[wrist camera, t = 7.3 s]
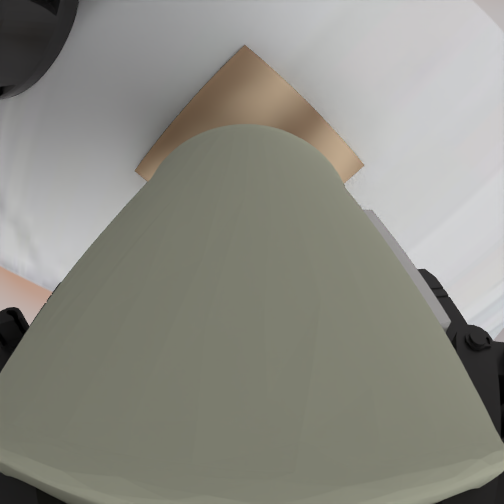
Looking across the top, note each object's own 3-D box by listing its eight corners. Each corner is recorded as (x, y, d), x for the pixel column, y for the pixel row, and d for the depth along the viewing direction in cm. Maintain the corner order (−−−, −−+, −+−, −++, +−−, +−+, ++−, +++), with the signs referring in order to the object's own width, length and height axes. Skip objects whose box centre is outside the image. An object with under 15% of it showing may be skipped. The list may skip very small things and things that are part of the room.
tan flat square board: (137, 168, 23) (134, 170, 22) (245, 46, 18) (245, 44, 17) (251, 259, 28) (251, 264, 27) (361, 162, 23) (364, 165, 22)
